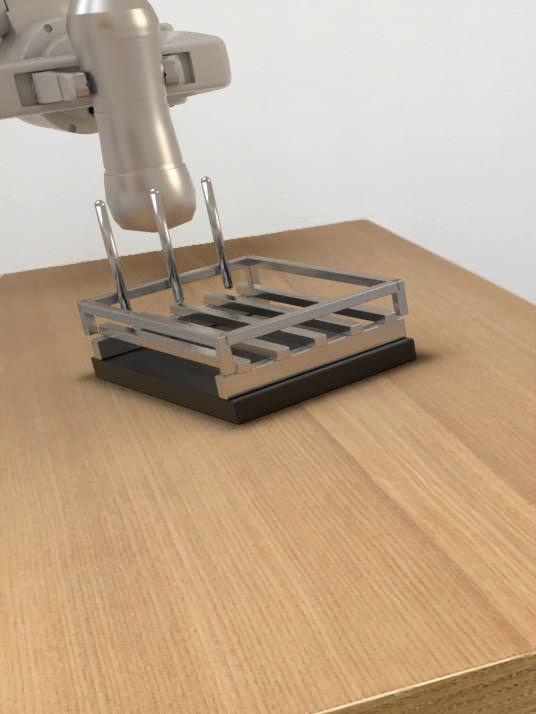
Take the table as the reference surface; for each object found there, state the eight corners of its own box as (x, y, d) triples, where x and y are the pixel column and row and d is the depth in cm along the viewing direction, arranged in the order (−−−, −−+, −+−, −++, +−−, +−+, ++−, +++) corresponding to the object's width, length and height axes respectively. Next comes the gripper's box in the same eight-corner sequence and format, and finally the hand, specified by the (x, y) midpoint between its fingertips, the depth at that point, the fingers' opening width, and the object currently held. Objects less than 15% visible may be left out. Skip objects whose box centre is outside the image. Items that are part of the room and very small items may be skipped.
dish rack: (95, 376, 74) (49, 208, 69) (263, 323, 81) (231, 168, 77) (238, 424, 63) (194, 229, 59) (417, 358, 70) (390, 180, 66)
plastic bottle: (171, 239, 90) (107, -62, 82) (95, 240, 93) (25, -52, 84) (218, 221, 96) (163, -63, 87) (146, 222, 98) (85, -54, 90)
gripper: (-74, 50, 93) (-35, 50, 82) (184, 20, 103) (248, 17, 92) (-49, 136, 96) (-8, 147, 85) (200, 99, 106) (264, 105, 95)
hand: (127, 79), depth 89 cm, fingers closed on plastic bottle, 6 cm apart
